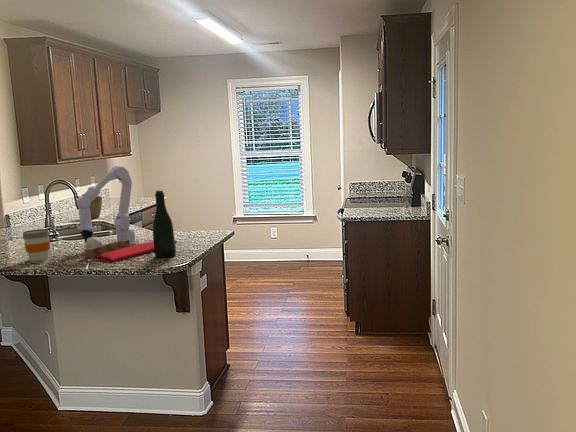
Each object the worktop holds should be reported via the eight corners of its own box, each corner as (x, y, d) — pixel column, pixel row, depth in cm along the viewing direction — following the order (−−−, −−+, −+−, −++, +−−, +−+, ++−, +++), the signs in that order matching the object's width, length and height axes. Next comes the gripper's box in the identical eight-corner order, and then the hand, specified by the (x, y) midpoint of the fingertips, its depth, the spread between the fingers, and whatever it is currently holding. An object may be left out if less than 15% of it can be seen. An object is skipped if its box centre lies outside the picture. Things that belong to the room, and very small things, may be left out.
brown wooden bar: (126, 247, 306) (125, 239, 305) (130, 248, 304) (129, 239, 303) (85, 258, 285) (84, 249, 284) (88, 258, 283) (87, 250, 283)
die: (101, 250, 306) (89, 237, 304) (108, 244, 300) (95, 230, 299) (91, 258, 299) (78, 245, 298) (97, 252, 294) (84, 238, 293)
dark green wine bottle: (180, 255, 279) (174, 189, 273) (162, 259, 271) (155, 192, 266) (168, 252, 286) (162, 188, 281) (150, 256, 279) (144, 191, 274)
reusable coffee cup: (22, 260, 289) (18, 232, 286) (46, 255, 297) (43, 228, 295) (31, 263, 280) (27, 234, 277) (56, 258, 288) (52, 230, 286)
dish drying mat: (94, 260, 281) (93, 253, 280) (159, 244, 312) (158, 237, 312) (112, 263, 271) (111, 256, 271) (177, 246, 303) (177, 240, 302)
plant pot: (79, 220, 420) (77, 199, 418) (92, 216, 434) (89, 196, 432) (96, 220, 416) (93, 198, 413) (108, 216, 430) (106, 196, 427)
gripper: (70, 219, 301) (73, 244, 303) (86, 221, 293) (89, 246, 295) (82, 217, 307) (85, 241, 309) (98, 218, 298) (101, 243, 300)
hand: (88, 243), depth 302 cm, fingers closed
